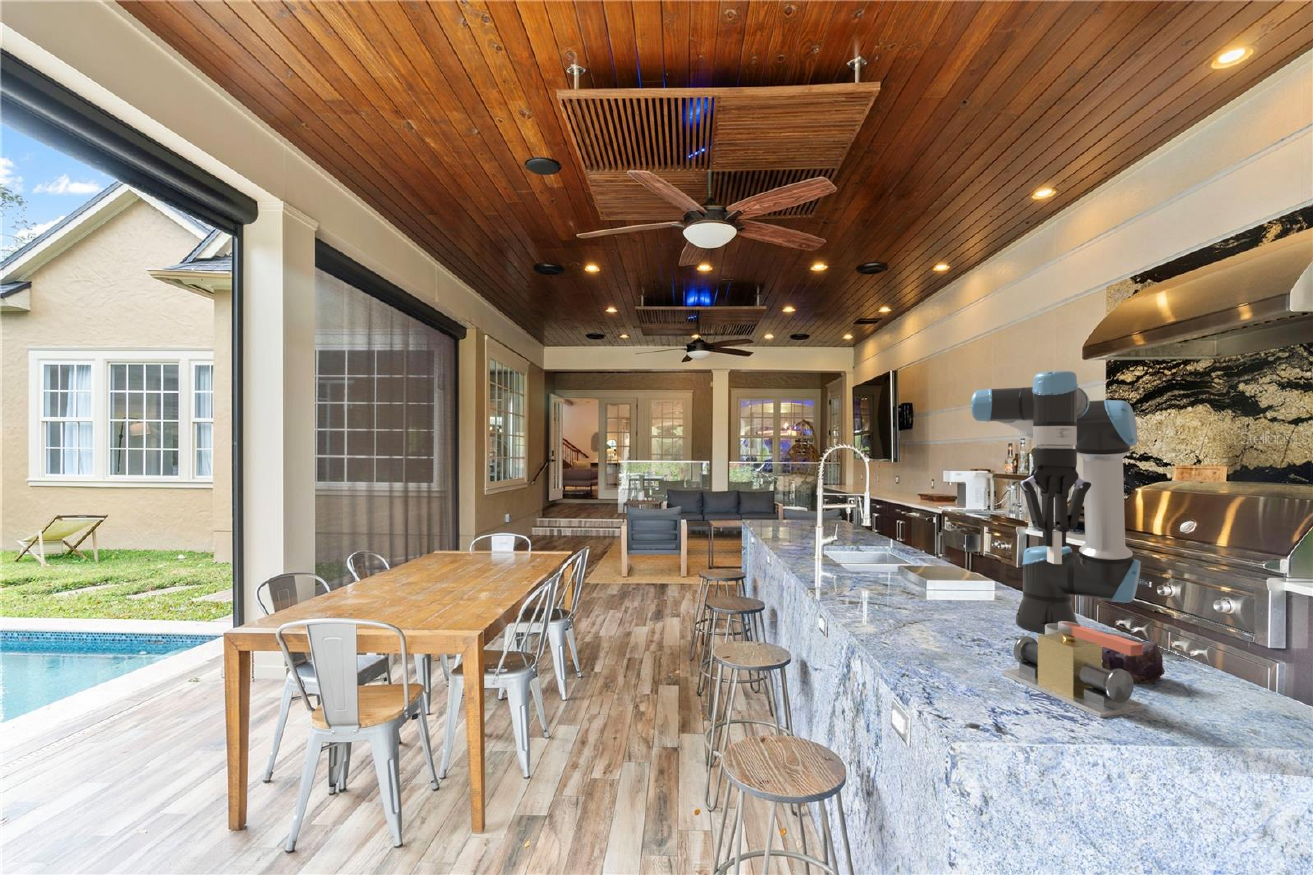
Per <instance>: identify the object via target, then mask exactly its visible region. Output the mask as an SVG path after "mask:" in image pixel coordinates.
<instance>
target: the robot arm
mask: <svg viewBox="0 0 1313 875" xmlns="http://www.w3.org/2000/svg"><path fill="white" fill-rule="evenodd" d="M1078 386H1079V384H1078V378H1077V373H1076V372H1074V371H1070V370H1055V371H1043V372H1038V373H1036V374H1035V375H1034V376H1033V383H1032V386H1026V387H1011V388H1010V387H1009V388H1007V387H1006V388H987V389H979V390H976V391H974V392H973V394H972V395H971V396H972V397H971V400H970V410H971V414H972V417H973V419H974V420H975V421H977V422H987V423H988V422H998V423H1002V424H1004V425H1006V426H1010V427H1012V428H1014V429H1017V430H1018V431H1019V433H1020V434H1022V435H1023V436H1025V437H1027V438H1030V439H1032V445H1033V446H1035V448H1034V449H1032V466H1033V468H1032V471H1031V473H1030V476H1029V477H1028V478H1026V479H1024V480H1023V479H1022V480H1019V482H1018V485H1019V487H1020V488H1021V490H1022V491H1023V493H1024V497H1025V500H1026V505H1027V509H1028V512H1029V517H1030V521H1031V524H1032V526H1034V527H1036V528H1039V529H1041V530H1042V544H1043V545H1040V546H1039V545H1038V546H1031V547H1027V548H1025V550H1024V551H1023V556H1022V563H1021V564H1022V599H1021V602H1020V603H1019V606H1018V610H1017V612H1016V615H1015V624H1016V625H1017V626H1018V627H1020V628H1023V629H1025V630H1027V631H1032V632H1035V633H1038V634H1039V633H1040V634H1045V625H1046V624H1058V622H1059V621H1067V622H1073V623H1077V624H1079V621H1078V620H1077V617H1076V614H1075V611H1074V608H1073V605H1072V596H1077V597H1083V598H1090V599H1096V600H1101V601H1109V602H1112V603H1113V602H1114V603H1115V602H1117V603H1124V604H1125V603H1128V604H1129V603H1131V602H1133V601H1134V599H1135V597H1136V593H1137V590H1138V584H1139V580H1140V574H1141V565H1142V563H1141V561H1140V560H1138V559H1136V558H1134V554H1133V551H1132V550H1131V549H1130V548H1128V546H1126V524H1125V521H1126V519H1125V518H1126V517H1125V492H1124V491H1125V490H1124V489H1125V487H1124V486H1125V485H1124V457H1126V456H1127V455H1128V454H1129V453H1131V447H1133V446H1136V445H1137V444H1138V426H1137V422H1136V418H1135V412H1134V410H1133V407H1132V406H1131V405H1130V403H1129V402H1128V401H1125V400H1115V399H1114V400H1111V399H1103V400H1102V399H1100V400H1099V399H1098V400H1090V398H1089V396H1088V394H1087V393H1086V392H1085V391H1084V389H1082V388H1081V387H1078ZM1074 447H1075V448H1074ZM1078 455H1079V457H1081V458H1082V475H1083V476H1082V478H1080V476H1079V475H1080V474H1079V473H1078V472H1077V465H1078ZM1036 486H1037V487H1038V488H1039V490H1040V493H1039V494H1040V496H1041V506H1040V503H1039V499H1038V494H1037V491H1036V489H1035V488H1036ZM1072 487H1074V489H1073V490H1072V493H1071V498H1070V501H1069V502H1068V498H1069V497H1070V490H1071V488H1072ZM1083 508H1084V510H1083ZM1082 510H1083V512H1084V532H1085V533H1084V536H1085V538H1084V539H1085V543H1084V544H1083V545H1082V546H1080V547H1079V548H1078V553H1077V552H1073V550H1072V548H1071V546H1068V545H1067V533H1069V531H1070V530H1072V529H1076V528H1077V527H1078V525H1079V521H1080V516H1081V513H1082Z"/></svg>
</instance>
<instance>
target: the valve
mask: <svg viewBox="0 0 1313 875" xmlns="http://www.w3.org/2000/svg"><path fill="white" fill-rule="evenodd" d="M1013 656H1014V659H1015V661H1016V662H1017V663H1018V667H1019V668H1012V669H1005V670H1003V672H1002V675H1003V676H1004V677H1006V678H1009V679H1011V680H1013V681H1016V682H1019V683H1020V684H1022V685H1025V686H1028V687H1029V688H1032V689H1034V690H1036V691H1039V692H1041V693H1043V694H1045V695H1047V696H1050V697H1052V698H1054V699H1057V700H1059V701H1062V702H1064V703H1066V704H1068V705H1070V706H1073V707H1075V708H1077V709H1080V710H1081V711H1084V712H1086V713H1088V714H1091V715H1093V716H1095V717H1097V718H1100V719H1101V718H1108V717H1111V716H1118V715H1119V716H1120V715H1124V714H1125V715H1126V714H1130V713H1135V712H1140V711H1145V710H1146V709H1145V708H1146V706H1145V704H1143V703H1142V702H1139V701H1137V700H1135V699H1131V696H1132V694H1133V692H1134V684H1135V682H1133V678H1132V676H1131V674H1130V673H1129V672H1127V671H1125V670H1122V669H1119V668H1117V669H1114V670H1112V671H1110V670H1107V669H1105V668H1102V646H1100V645H1098V644H1095V643H1092V642H1089V641H1086V640H1084V639H1081V638H1078V637H1075V636H1072V635H1067V634H1063V633H1054V634H1046V635H1045V634H1038V635H1037V639H1035V638H1034V637H1031V636H1029V635H1023V636H1021V637H1019V638H1018V639H1017V640H1016V641H1015V643H1014V645H1013Z"/></svg>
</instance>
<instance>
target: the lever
mask: <svg viewBox="0 0 1313 875" xmlns="http://www.w3.org/2000/svg"><path fill="white" fill-rule="evenodd" d="M1058 632H1060V633H1063V634H1067V635H1072V636H1075V637H1078V638H1081V639H1084V640H1086V641H1089V642H1092V643H1095V644H1098V645H1100V646H1103V647H1106V648H1109V649H1112V650H1115V651H1118V652H1120V653H1123V654H1126V655H1129V656H1135V655H1143V644H1141V643H1142V642H1140V643H1139V642H1137V641H1134V640H1131V639H1128V638H1126V637H1125V638H1124V637H1121V636H1119V635H1115V634H1112V633H1111V634H1107V633H1105V632H1101V631H1099V630H1095V629H1093V628H1089V627H1087V626H1083V625H1081V624H1079V623H1078V624H1077V623H1073V622H1067V621H1059V622H1058Z"/></svg>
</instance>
